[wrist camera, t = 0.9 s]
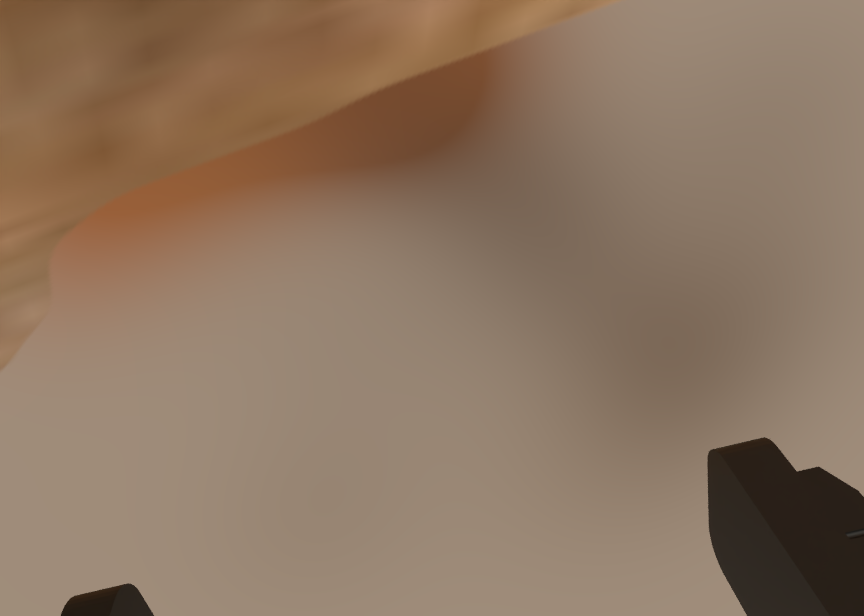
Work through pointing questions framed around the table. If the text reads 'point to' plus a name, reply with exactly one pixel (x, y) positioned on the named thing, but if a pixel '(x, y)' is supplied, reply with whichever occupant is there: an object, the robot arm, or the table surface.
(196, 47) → the table surface
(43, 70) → the table surface
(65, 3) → the table surface
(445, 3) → the table surface
